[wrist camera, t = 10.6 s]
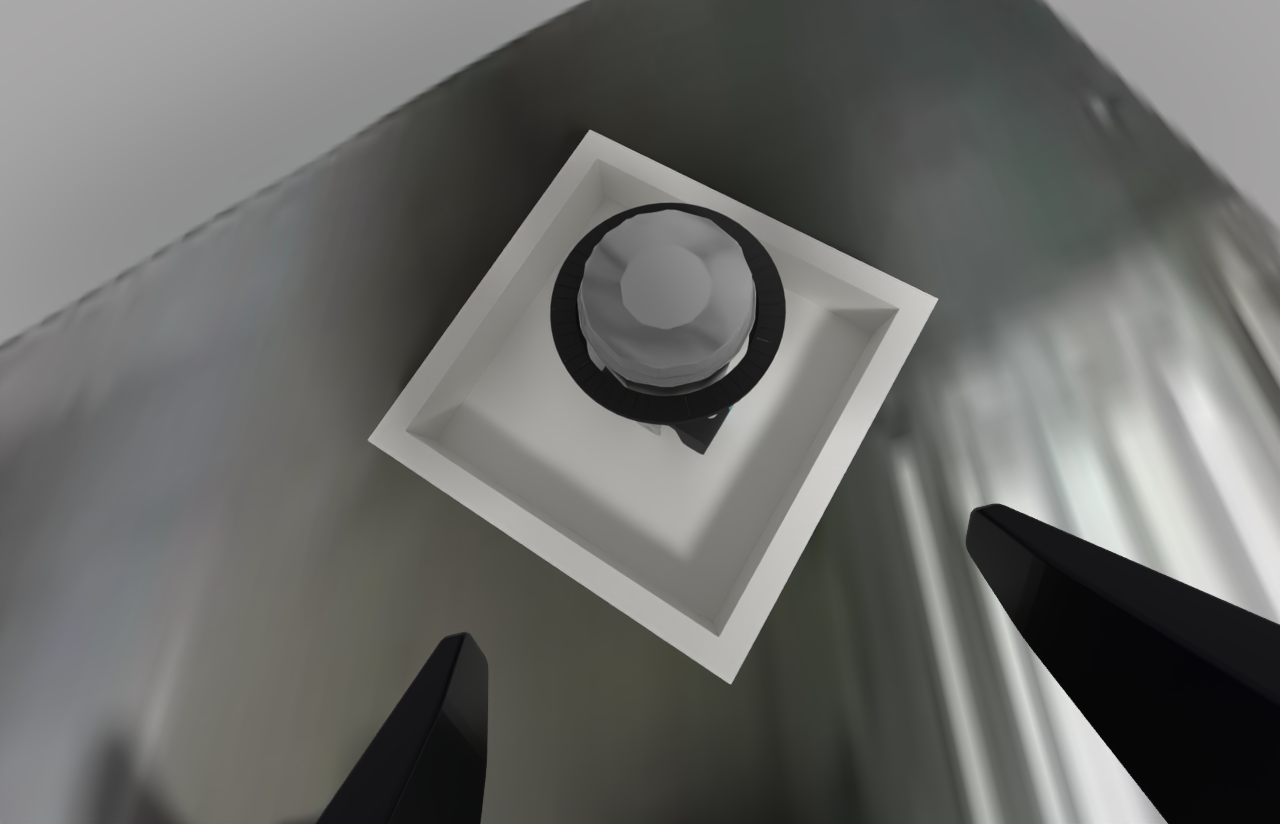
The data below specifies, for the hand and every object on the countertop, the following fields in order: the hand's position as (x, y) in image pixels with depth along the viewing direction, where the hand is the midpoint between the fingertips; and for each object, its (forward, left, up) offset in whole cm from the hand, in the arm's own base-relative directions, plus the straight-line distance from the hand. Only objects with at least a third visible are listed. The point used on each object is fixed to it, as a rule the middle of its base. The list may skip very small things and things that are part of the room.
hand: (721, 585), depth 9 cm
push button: (+5, +5, -10) cm, 12 cm away
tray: (+5, +5, -11) cm, 13 cm away
